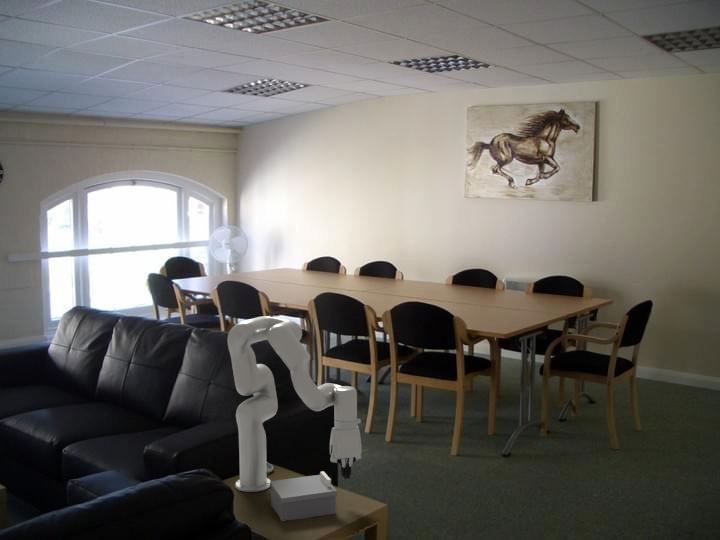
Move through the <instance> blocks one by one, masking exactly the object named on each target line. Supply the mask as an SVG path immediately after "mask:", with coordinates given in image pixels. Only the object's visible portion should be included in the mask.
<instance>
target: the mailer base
mask: <svg viewBox="0 0 720 540" xmlns="http://www.w3.org/2000/svg"><path fill="white" fill-rule="evenodd" d="M270 490H271V493H270V496H271V499H270V501H271V502H270V503H271V506H272V508H273V510H274V509H275V510H274V511H275V513H276V512H277V513H276V515H277V514H278V515H279V516H278V515H277V516H278V518H279V517H280V518H279V519H280V521H281V520H282V521H281V522H287V521H286V520H289V521H294V520H300V519H301V520H302V519H307V518H314V517H321V516H327V515H328V516H329V515H333V514H334V515H335V514H336V513H337V512H336V511H337V508H336V507H337V505H336V504H337V503H336V502H337V501H336V500H337V498H336V496H337V495H336V496H329V497H322V498H316V499H309V500H302V501H295V502H288V503H281V499H280V497H279V496H278V494H277V493H276V491H275V490H274V488H273V487H272V485H271V486H270Z"/></svg>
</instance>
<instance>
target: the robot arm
mask: <svg viewBox="0 0 720 540" xmlns="http://www.w3.org/2000/svg"><path fill="white" fill-rule="evenodd" d="M302 336H303V330H302V328H301V326H300V325H299V324H298V323H297V322H295V321H293V320H291V319H290V320H289V319H284V318H279V317H274V316H273V317H272V316H269V315H266V316H265V315H263V316H257V317H254V318H250V319H245V320H242V321H240V322H237V323H236V324H235V325H234V326H232V327H231V329H230V330H229V332H228V335H227V347H228V352H229V355H230V358H231V359H230V360H231V366H232V373H233V374H232V375H233V379H234V385H235V389H236V392H237V393H238V394H239V395H241V396H244V397H245V396H247V397H248V396H252V395H253V396H252V397H249V398H247V399H245V400H243V401H242V402H241V403H240V404H239V405H238V406H237V408H236V411H235V419H236V424H237V429H238V430H237V431H238V448H239V449H238V451H239V455H238V456H239V460H238V461H239V462H238V463H239V479H238V480H237V481H235V488H236V489H237V490H238V491H241V492H245V493H256V492H261V491H262V492H263V491H266V490H268V489H269V488H271V486H270V481H271V479H270V478H268V477H267V475H268V474H267V473H268V472H267V468H268V467H267V466H266V462H267V436H266V431H265V429H264V425H263V424H264V422H265V421H267V420H269V419H271V418H273V417H274V416H275V415H276V414H277V411H278V408H279V407H278V406H279V405H278V397H277V391H276V383H275V378H274V375H273V372H272V371H271V369H270V368H269V367H268V366H267V365H266V364H263V363H257V360H256V359H257V358H256V354H255V352H254V350H253V347H252V346H251V345H253V344H256V343H258V342H263V341H266V340H267V341H268V343H269V344H270V346H271V347H272V348H273V350H274V352H275V353H276V354H277V355H278V357H280V359H281V360H282V362H283V363H284V365H285V366H286V367H287V368H288V370H289V371H290V379H291V382H292V386H293V388H294V391H295V392H296V394H297V395H298V397H299V398H300V399H301V401H302V402H303V403H304V404H305V405H306V407H308V408H309V410H312V411H314V412H321V411H323V410H325V409H326V408H328V407H331V406H334V407H333V409H334V414H333V415H334V417H333V418H334V427H332V428H331V431H330V439H329V455H330V459H329V460H330V462H331V463H333V464H334V463H336V464H339V465H340V474H341V476H342V477H343V478H344V479H345V480H347V479H348V480H349V479H350V478H351V475H352V467H353V465H354V463H355V462H356V461H358V460H361V459H362V451H363V450H362V438H361V432H360V428H359V424H360V423H362V419H361V418H358V397H357V396H358V391H357V389H356V388H355V387H354V386H349V385H343V386H342V385H339V384H336V383H331V382H326V383H323V384H321V385H319V386H317V385H316V383H314V381H313V379H312V378H311V376H310V373H309V363H310V360H311V355H310V353H309V352H308V350H307V349H306V348H305V347H304V346H303V344H302V343H301V342H300V341H301V339H302Z"/></svg>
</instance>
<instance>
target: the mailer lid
mask: <svg viewBox="0 0 720 540" xmlns="http://www.w3.org/2000/svg"><path fill="white" fill-rule="evenodd" d="M271 485H272V487H273V488H274V490H275V491H276V493H277V494H278V496H279V497H280V499H281V503H288V502H295V501H302V500H309V499H316V498H322V497H329V496H338V490H337V489H336V488H335V486H333V484H332V478H330V477H329V476H328V474H327V473H326V472H325V471H324V470H323V471H320V472H319V474H317V475H315V474H314V475H307V476H301V477H291V478H286V479H285V478H284V479H276V480H270V487H271Z"/></svg>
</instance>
